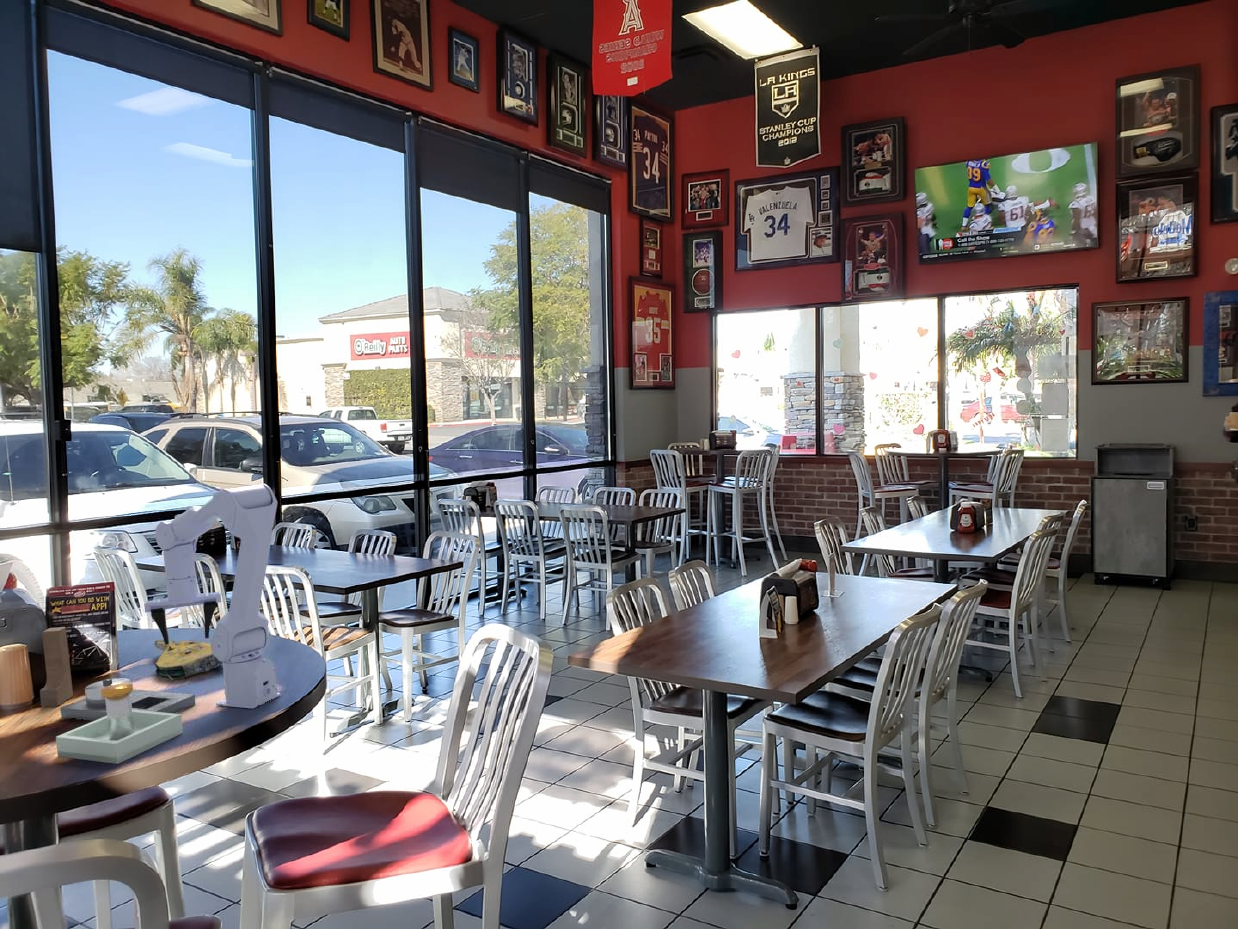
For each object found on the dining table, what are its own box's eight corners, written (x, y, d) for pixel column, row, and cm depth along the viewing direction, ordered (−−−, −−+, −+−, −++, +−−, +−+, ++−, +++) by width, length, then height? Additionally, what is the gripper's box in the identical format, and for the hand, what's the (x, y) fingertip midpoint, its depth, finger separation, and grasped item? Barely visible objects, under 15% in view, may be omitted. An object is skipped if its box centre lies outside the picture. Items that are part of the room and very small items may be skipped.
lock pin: (144, 732, 167) (139, 683, 166) (120, 742, 162) (115, 693, 161) (123, 729, 169) (118, 682, 168) (100, 740, 164) (94, 691, 163)
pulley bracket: (195, 704, 184) (192, 675, 183) (146, 726, 173) (142, 695, 172) (113, 696, 191) (110, 668, 191) (61, 717, 180) (58, 687, 180)
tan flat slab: (196, 621, 228) (231, 644, 204) (202, 643, 229) (237, 669, 205) (135, 642, 219) (163, 669, 196) (141, 664, 220) (171, 694, 197)
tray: (182, 732, 168) (181, 714, 168) (117, 764, 155) (115, 744, 155) (125, 726, 173) (123, 708, 173) (57, 756, 160) (55, 737, 160)
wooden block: (57, 697, 193) (49, 627, 192) (73, 696, 193) (66, 626, 192) (41, 708, 187) (33, 636, 185) (58, 706, 187) (50, 634, 186)
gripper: (218, 569, 199) (223, 630, 200) (143, 578, 193) (149, 641, 194) (218, 574, 192) (224, 638, 194) (141, 584, 186) (148, 649, 188)
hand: (187, 640), depth 193 cm, fingers open, 7 cm apart
